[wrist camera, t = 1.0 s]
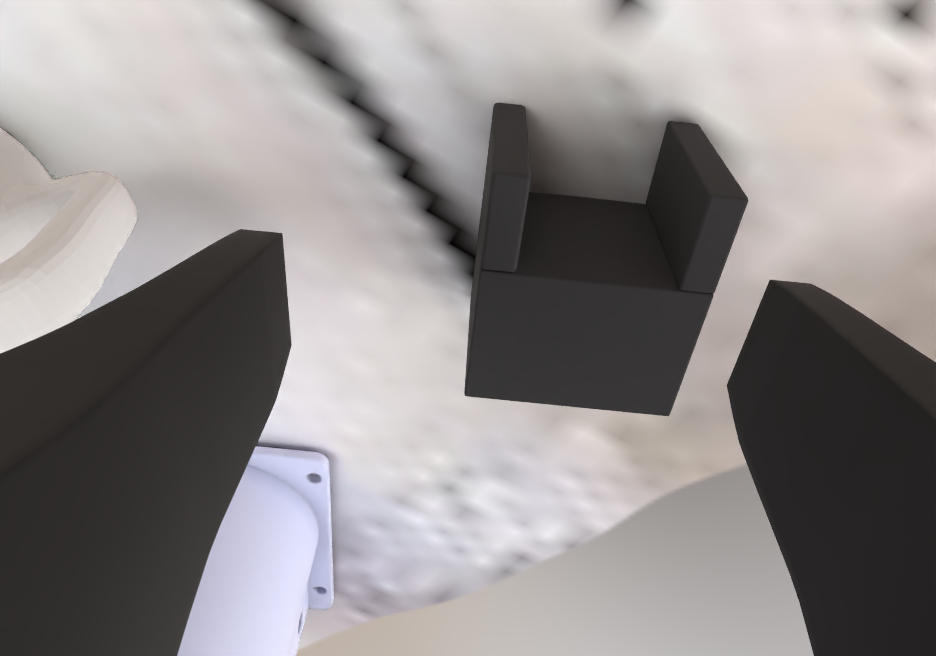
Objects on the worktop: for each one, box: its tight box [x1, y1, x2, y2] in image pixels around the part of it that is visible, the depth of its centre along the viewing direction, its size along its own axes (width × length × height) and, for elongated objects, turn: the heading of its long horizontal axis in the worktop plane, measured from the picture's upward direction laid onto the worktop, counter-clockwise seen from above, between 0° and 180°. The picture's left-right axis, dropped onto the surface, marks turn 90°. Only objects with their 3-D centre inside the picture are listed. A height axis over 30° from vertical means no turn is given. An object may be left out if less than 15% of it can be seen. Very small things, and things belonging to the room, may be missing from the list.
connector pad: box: [465, 103, 748, 416], centre depth 17 cm, size 6×5×4 cm
